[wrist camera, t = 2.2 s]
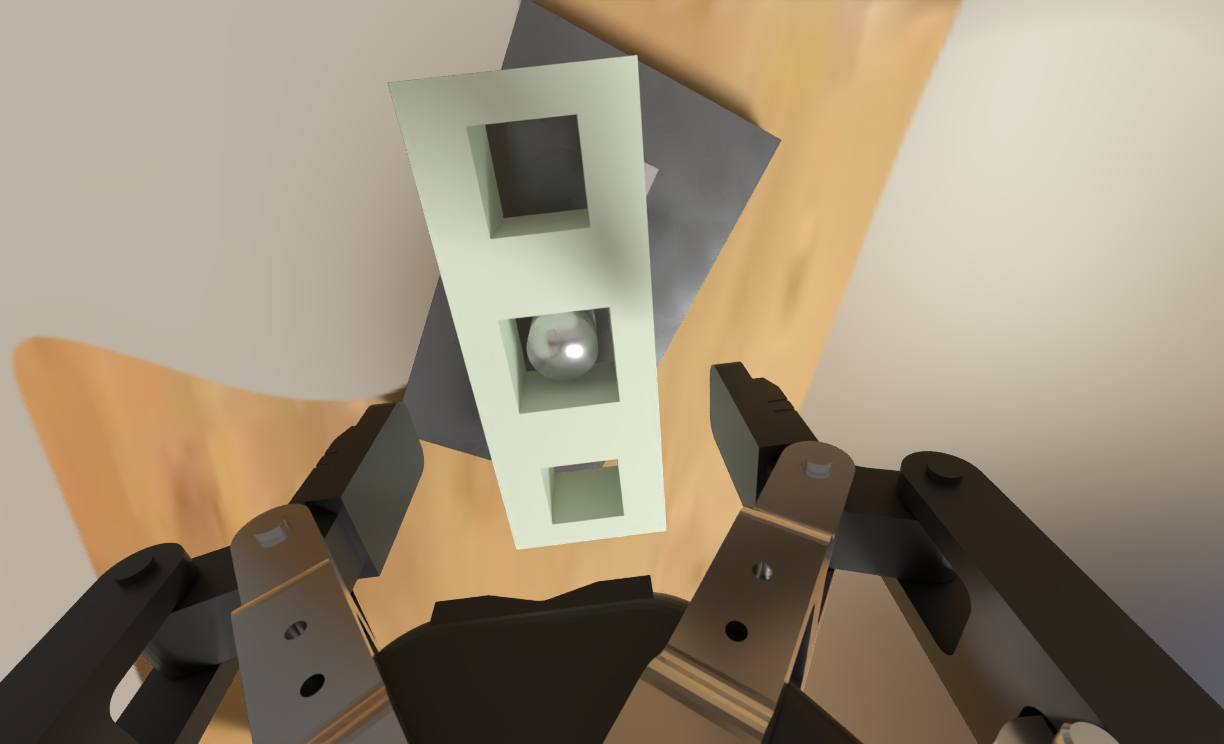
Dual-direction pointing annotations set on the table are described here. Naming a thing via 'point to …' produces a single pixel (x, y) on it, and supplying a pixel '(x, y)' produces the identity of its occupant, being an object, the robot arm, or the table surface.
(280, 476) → the table surface
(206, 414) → the table surface
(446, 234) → the flange bar
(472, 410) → the base
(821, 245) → the table surface
